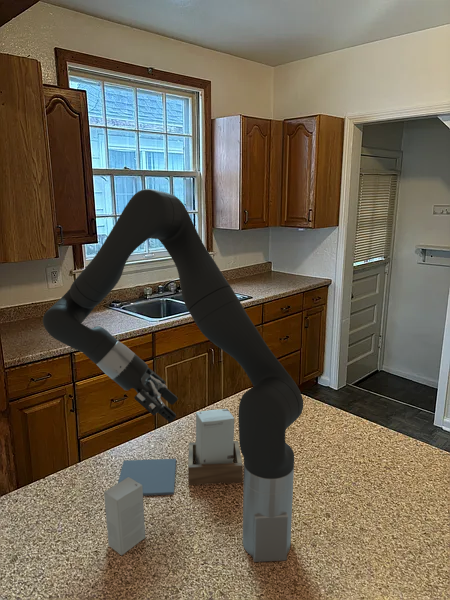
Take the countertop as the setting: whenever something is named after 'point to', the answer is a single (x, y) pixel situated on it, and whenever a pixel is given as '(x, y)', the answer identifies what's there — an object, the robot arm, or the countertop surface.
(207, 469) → the holder collar
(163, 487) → the slate mat
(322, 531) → the countertop surface
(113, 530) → the skincare box
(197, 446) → the skincare box
